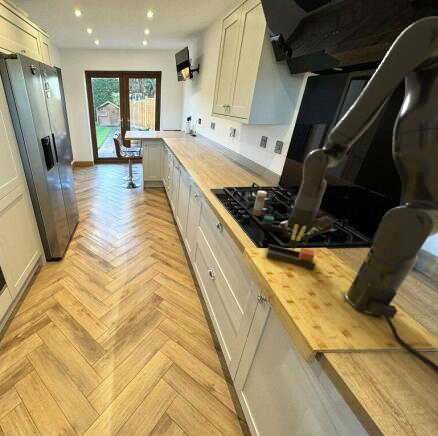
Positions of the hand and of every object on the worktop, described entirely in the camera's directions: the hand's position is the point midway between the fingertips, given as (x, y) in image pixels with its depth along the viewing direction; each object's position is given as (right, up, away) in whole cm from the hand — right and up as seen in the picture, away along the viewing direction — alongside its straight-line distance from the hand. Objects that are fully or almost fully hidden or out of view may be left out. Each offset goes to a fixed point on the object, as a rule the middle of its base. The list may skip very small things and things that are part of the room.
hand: (292, 247), depth 91 cm
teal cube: (+4, +9, +26) cm, 28 cm away
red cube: (+5, -4, 0) cm, 7 cm away
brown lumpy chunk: (+28, +5, +26) cm, 38 cm away
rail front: (0, -5, +3) cm, 6 cm away
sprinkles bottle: (+5, +13, +41) cm, 43 cm away
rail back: (+9, +6, +25) cm, 27 cm away
